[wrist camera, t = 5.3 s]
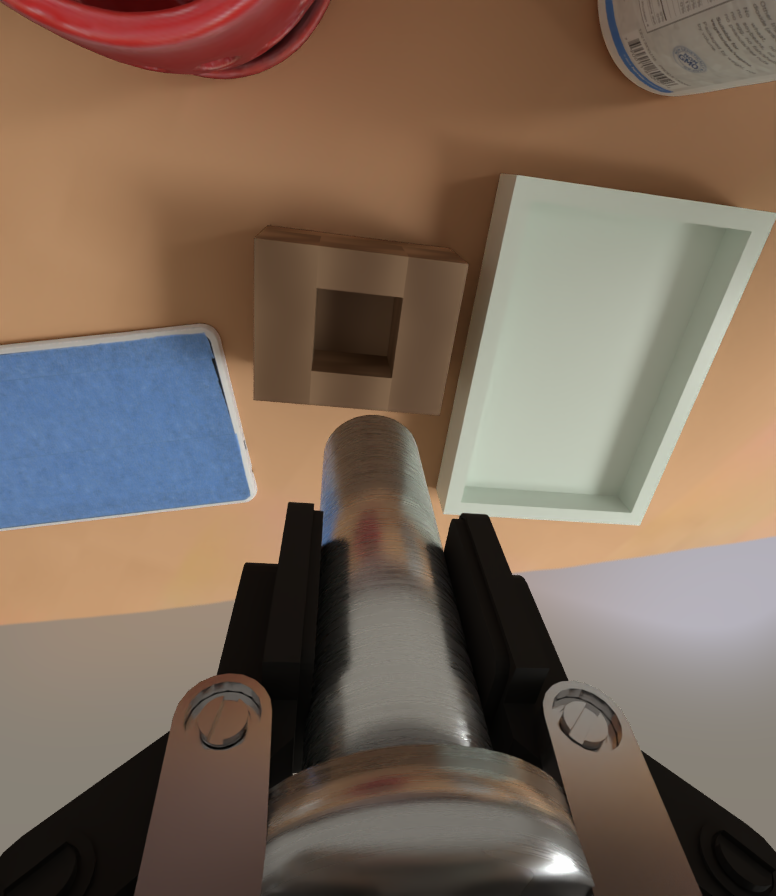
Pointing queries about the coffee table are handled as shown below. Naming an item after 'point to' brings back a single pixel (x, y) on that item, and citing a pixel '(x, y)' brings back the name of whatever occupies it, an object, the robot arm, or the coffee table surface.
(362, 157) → the coffee table surface
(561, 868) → the pin
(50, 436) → the tablet computer
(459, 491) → the tray
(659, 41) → the supplement tub
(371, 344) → the hitch block
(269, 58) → the plant pot
